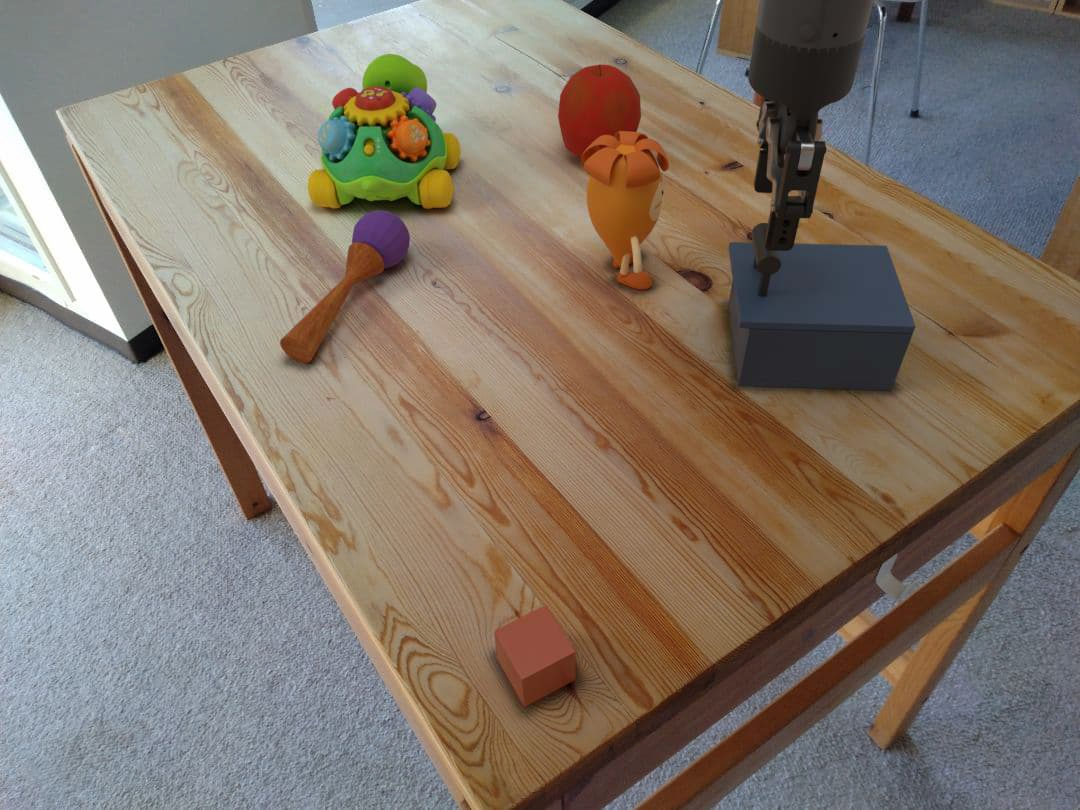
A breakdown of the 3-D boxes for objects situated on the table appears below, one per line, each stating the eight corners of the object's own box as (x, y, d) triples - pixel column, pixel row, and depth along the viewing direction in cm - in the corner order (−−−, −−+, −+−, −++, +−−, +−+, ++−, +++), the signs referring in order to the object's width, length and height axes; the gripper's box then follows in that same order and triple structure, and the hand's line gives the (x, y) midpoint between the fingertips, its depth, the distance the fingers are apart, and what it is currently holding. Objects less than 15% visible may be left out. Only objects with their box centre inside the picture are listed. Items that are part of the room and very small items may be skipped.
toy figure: (669, 303, 86) (683, 171, 75) (592, 313, 85) (594, 180, 74) (641, 236, 94) (650, 108, 83) (570, 244, 93) (570, 116, 82)
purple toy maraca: (256, 324, 79) (361, 198, 91) (284, 369, 83) (381, 243, 95) (307, 329, 76) (408, 199, 88) (333, 375, 81) (426, 246, 92)
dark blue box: (738, 386, 77) (749, 329, 72) (728, 305, 85) (737, 249, 80) (891, 391, 76) (913, 334, 71) (866, 309, 84) (884, 252, 80)
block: (575, 679, 58) (576, 651, 55) (524, 707, 57) (521, 680, 54) (547, 633, 60) (546, 604, 58) (497, 659, 59) (493, 630, 56)
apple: (608, 184, 102) (611, 91, 93) (541, 159, 106) (539, 69, 98) (653, 148, 107) (660, 58, 99) (587, 126, 112) (589, 38, 103)
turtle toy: (469, 127, 112) (461, 38, 104) (451, 227, 96) (440, 131, 88) (343, 128, 113) (325, 39, 104) (304, 228, 97) (278, 132, 88)
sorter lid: (739, 328, 72) (748, 280, 69) (728, 248, 80) (736, 201, 77) (913, 333, 71) (932, 284, 68) (884, 252, 79) (900, 204, 76)
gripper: (887, 67, 54) (831, 271, 66) (848, -17, 64) (805, 174, 76) (768, 65, 55) (733, 268, 66) (747, -17, 65) (720, 172, 76)
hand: (771, 218), depth 71 cm, fingers open, 8 cm apart
